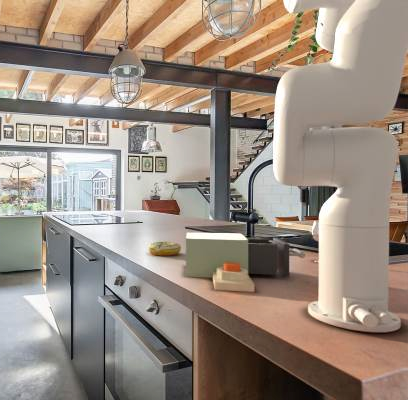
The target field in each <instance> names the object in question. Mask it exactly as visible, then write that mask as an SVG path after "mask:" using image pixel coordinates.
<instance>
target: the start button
mask: <svg viewBox="0 0 408 400" xmlns="http://www.w3.org/2000/svg"><path fill="white" fill-rule="evenodd" d="M224 271H229V272H240V263H236V262H225V263H224Z"/></svg>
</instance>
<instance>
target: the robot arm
mask: <svg viewBox="0 0 408 400" xmlns="http://www.w3.org/2000/svg"><path fill="white" fill-rule="evenodd" d="M283 5H284V8H285V10H286V11H287V12H288V13H289V14H297V13H298V14H299V13H303V12H304V13H305V12H307V11H314V10H318V18H317V23H316V30H315V41H316V43H317V45H319V47H321V48H322V49H324V50H326V51H328V52H331V53H332V58H331V59H330V60H329V61H327V62H321V63H313V64H307V65H300V66H297V67H293V68H290V69H289V70H287V71H286V72H285V73H284V74H282V76H281V77H280V79H279V82H278V84H277V87H276V93H275V100H274V124H273V125H274V126H273V149H272V150H273V154H272V165H273V167H272V168H273V174H274V177H275V179H276V180H277V182H278V183H279V184H281V185H284V186H287V187H297V188H298V189H299V201H300V203H302V204H301V205H302V206H305V207H309V206H310V189H309V188H308V187H335V188H337V189H336V191H334V192H333V194H332V195H331V196H330V197H329V198H328V199H327V200H326V201H325V202H324V203H323V205H322V206H321V208H320V210H319V214H318V221H319V242H318V260H319V263H318V299H317V300H314V301H312V302H310V303H309V304H308V305H307V312H308V314H309V315H310V316H311V317H312V318H313V319H316V320H317V321H319V322H321V323H323V324H324V323H325V324H327V325H331V326H333V327H338V328H341V329H346V330H351V331H357V332H358V331H359V332H365V333H391V332H396V331H397V330H399V329H400V328H401V326H402V321H401V320H402V319H401V318H400V317H399V316H398V315H397V314H395V313H393V312H392V311H389V278H390V277H389V272H390V271H389V270H390V269H389V267H390V213H391V212H390V211H391V209H390V207H391V193H392V186H393V180H394V175H395V172H396V171H395V170H396V166H397V162H398V155H399V144H398V140H397V138H396V137H395V136H394V134H393V133H391V131H388V130H387V129H384V128H380V127H376V126H352V125H361V124H368V123H374V122H378V121H381V120H383V119H386V118H387V117H388V116H389V115H390V114H391V113H392V112H393V110H394V108H395V106H396V103H397V100H398V97H399V93H400V92H399V91H400V89H401V83H402V80H403V75H404V71H405V67H406V61H407V56H408V0H283ZM350 125H351V126H350ZM343 126H348V127H343Z"/></svg>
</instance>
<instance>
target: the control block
mask: <svg viewBox="0 0 408 400" xmlns="http://www.w3.org/2000/svg"><path fill="white" fill-rule="evenodd" d="M211 279H212V283H213V287H214V290H216V291H233V292H249V293H250V292H251V293H254V292H255V282H254V281H253V280H252V278H251V277H250V275H249V273H248V271H247V270H246V269H243V268H240V272H229V271H224V267H219V268H217V272H212V278H211Z"/></svg>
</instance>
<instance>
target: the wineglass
mask: <svg viewBox="0 0 408 400" xmlns="http://www.w3.org/2000/svg"><path fill="white" fill-rule="evenodd" d="M311 235H312V238H313V240H314V241H316V242H318V243H319V220H314V221H313V224H312V230H311ZM314 262H315V263H318V264H319V259H315V260H314Z"/></svg>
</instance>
